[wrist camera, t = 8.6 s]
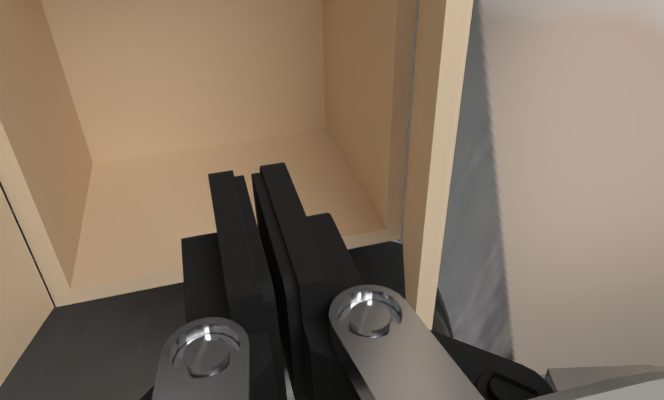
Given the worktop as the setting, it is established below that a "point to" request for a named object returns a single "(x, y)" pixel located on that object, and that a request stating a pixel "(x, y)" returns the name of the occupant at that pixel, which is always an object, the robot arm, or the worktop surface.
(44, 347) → the worktop surface
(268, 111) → the carton
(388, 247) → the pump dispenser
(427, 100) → the right flap
